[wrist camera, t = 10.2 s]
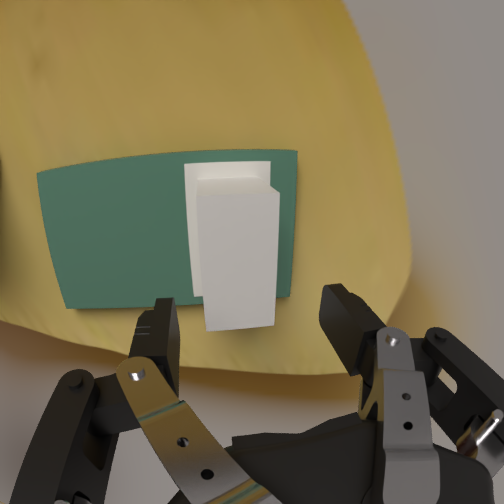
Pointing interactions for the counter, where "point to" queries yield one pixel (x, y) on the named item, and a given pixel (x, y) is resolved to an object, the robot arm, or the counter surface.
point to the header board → (148, 223)
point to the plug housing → (238, 251)
